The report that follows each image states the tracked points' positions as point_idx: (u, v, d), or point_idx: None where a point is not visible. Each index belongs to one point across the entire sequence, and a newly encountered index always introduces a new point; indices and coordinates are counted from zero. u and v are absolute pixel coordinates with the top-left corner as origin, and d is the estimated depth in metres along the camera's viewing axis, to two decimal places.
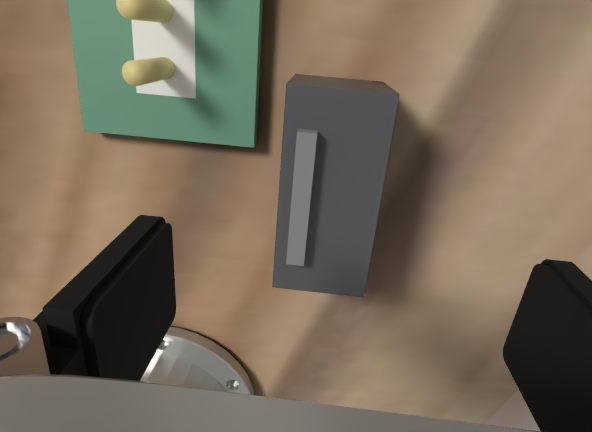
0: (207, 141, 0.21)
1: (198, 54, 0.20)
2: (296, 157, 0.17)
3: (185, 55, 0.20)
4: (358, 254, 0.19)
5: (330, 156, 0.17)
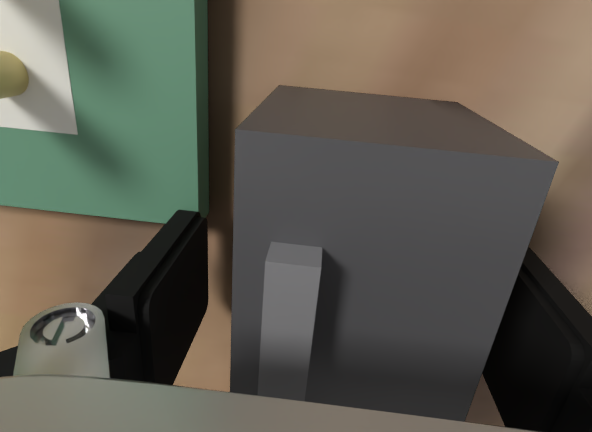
0: (109, 214, 0.11)
1: (71, 45, 0.09)
2: (265, 320, 0.06)
3: (45, 48, 0.09)
4: None
5: (354, 305, 0.07)
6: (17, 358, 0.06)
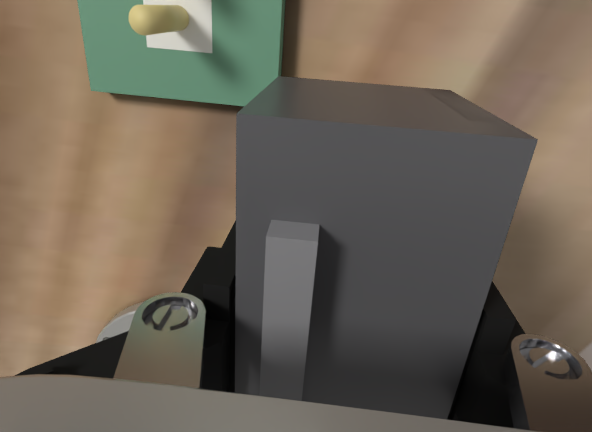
0: (225, 102, 0.19)
1: (215, 1, 0.17)
2: (267, 293, 0.07)
3: (200, 3, 0.17)
4: None
5: (350, 279, 0.07)
6: (139, 342, 0.06)
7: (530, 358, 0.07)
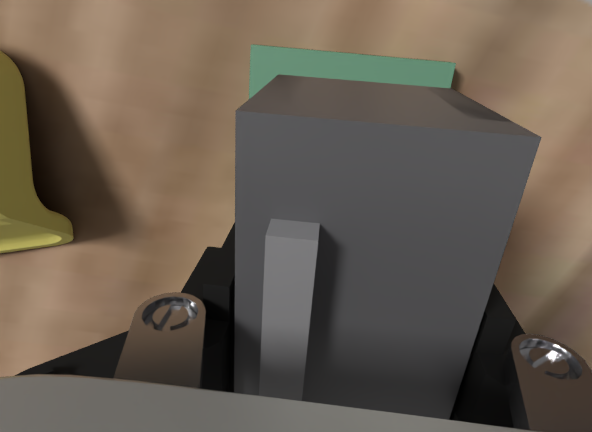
0: None
1: None
2: (267, 292, 0.07)
3: None
4: None
5: (351, 279, 0.07)
6: (138, 342, 0.06)
7: (530, 358, 0.07)
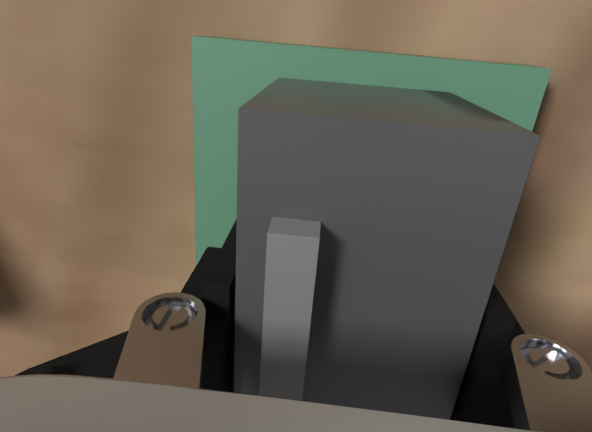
0: None
1: None
2: (268, 290, 0.07)
3: None
4: None
5: (352, 278, 0.07)
6: (138, 342, 0.06)
7: (530, 358, 0.07)
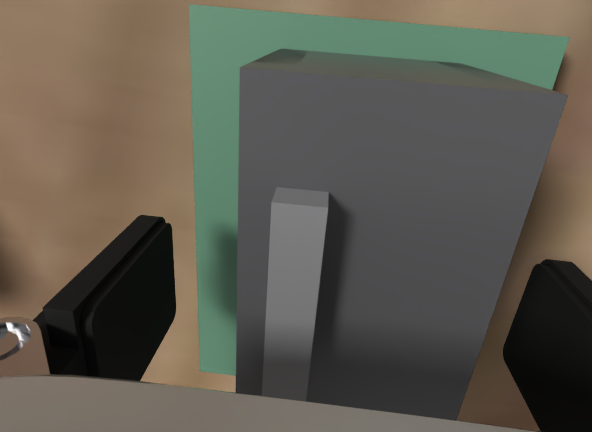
0: None
1: None
2: (272, 265, 0.06)
3: None
4: None
5: (361, 253, 0.07)
6: None
7: None
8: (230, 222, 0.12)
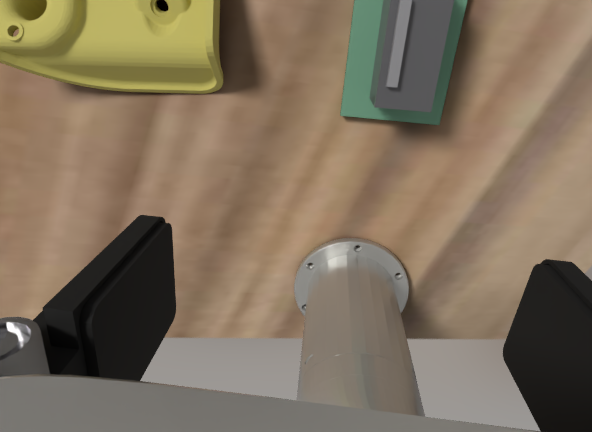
0: (412, 121, 0.37)
1: None
2: (399, 13, 0.29)
3: None
4: (429, 81, 0.31)
5: (417, 15, 0.29)
6: None
7: None
8: (362, 43, 0.35)
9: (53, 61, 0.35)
